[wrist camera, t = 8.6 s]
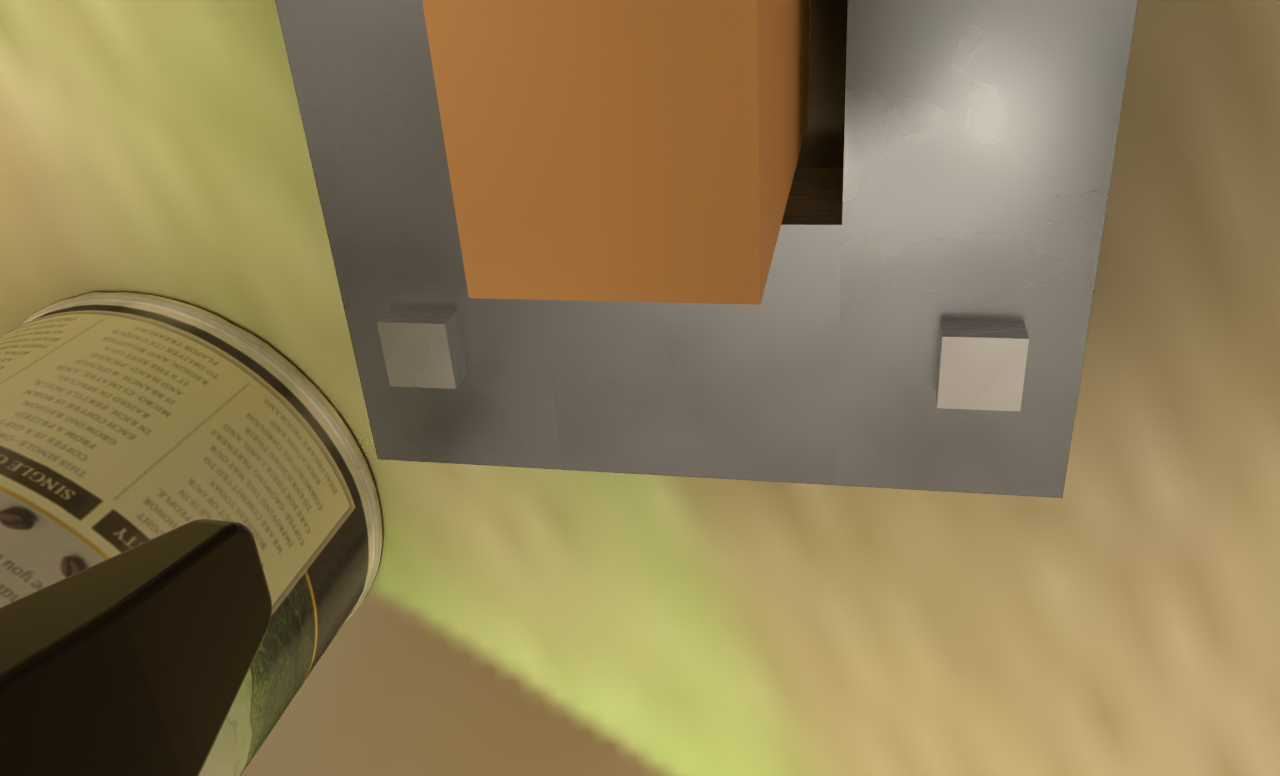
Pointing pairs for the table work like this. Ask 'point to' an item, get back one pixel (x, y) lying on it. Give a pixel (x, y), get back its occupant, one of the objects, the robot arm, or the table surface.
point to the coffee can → (183, 473)
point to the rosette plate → (797, 280)
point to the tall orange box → (620, 143)
